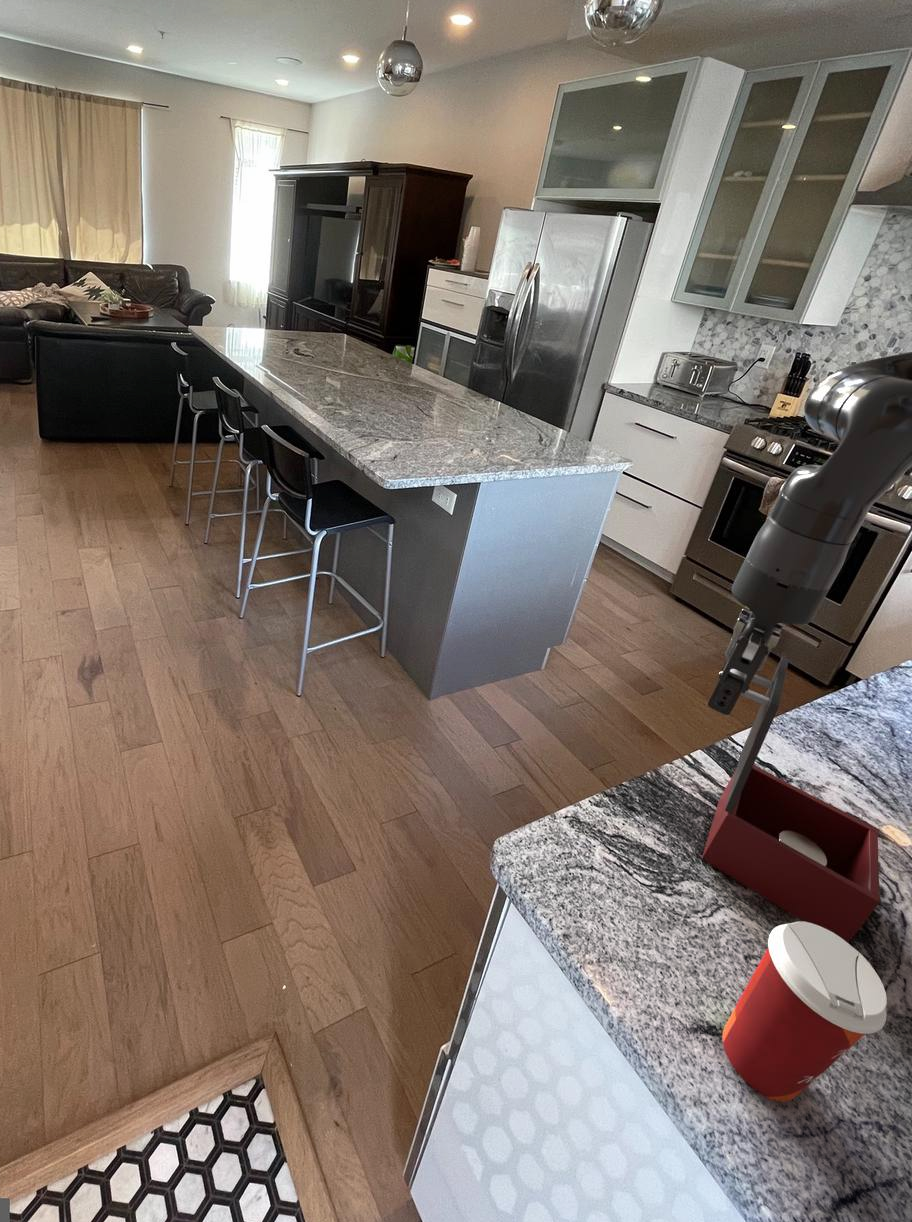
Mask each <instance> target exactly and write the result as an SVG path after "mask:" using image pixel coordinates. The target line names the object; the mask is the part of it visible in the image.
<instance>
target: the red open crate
mask: <svg viewBox="0 0 912 1222" xmlns="http://www.w3.org/2000/svg"><path fill="white" fill-rule="evenodd" d="M735 772H736V770H734V772H733V774H732V775H731V778H730V779H729V781H728V783H727V785H726V786H725V789H724V790H723V792H722V794H721V795H720V797H719V799H718V802H717V806H716V809H715V812H714V817H713V819H712V823H711V826H710V830H709V833H708V836H707V840H706V842H705V846H704V850H703V854H702V856H701V859H702V860H703V861H704V862H706V863H708V864H709V865H711V866H712V867H713V868H716V869H717V870H719V871H721V872H722V873H724V874H726V875H727V876H729V877H730V878H732V879H734V880H735V881H737V882H739V883H740V884H742V885H743V886H745V887H747V888H748V889H750V890H752V891H753V892H755V893H757V894H758V895H760V896H761V897H763V898H764V899H766V900H768V901H769V902H771V903H772V904H774V905H776V906H778V907H779V908H781V909H782V910H784V911H786V912H787V913H789V914H791V915H792V916H793V917H796V918H797V919H799V921H800V920H801V922H808V923H812V924H815V925H818V926H820V927H823V928H825V929H827V930H829V931H831V932H833V933H834V934H836V935H837V936H839V937H840V938H842V939H843V940H844V941H846V942H847V943H848V944H849V942H851V940H852V939H853V937H854V936H855V935H856V934H857V932H858V931H859V930H860V929H861V927H862V926H863V924H865V922H866V921H867V920H868V918H869V917H870V915H872V913H873V912H874V910H875V909H876V908H877V907H878V905H879V904H880V902H881V899H880V897H881V896H880V867H879V866H880V865H879V864H880V863H879V861H880V860H879V830H878V828H876V827H873V826H872V825H870V824H868V823H866V822H864V821H862V820H860V819H859V818H857V817H854V816H852V815H851V814H849V813H847V812H845V811H843V810H841V809H839V808H837V807H835V806H834V805H831V804H830V803H827V802H826V801H824V800H821V799H820V798H818V797H816V796H814V795H813V794H810V793H808V792H806V791H804V790H802V789H801V788H799V787H796V786H795V785H793V784H791V783H789V782H787V781H785V780H783V779H781V778H779V777H777V776H775V775H773V774H772V773H770V772H768V771H766V770H765V769H762V768H760V767H758V766H756V765H755V764H754V765H753V767H752V769H751V772H750V774H749V776H748V778H747V781H746V783H745V785H744V788H743V790H742V792H741V794H740V797H739V799H738V801H737V804H736V806H735V808H734V810H733V813H732V814H730V813H728V812H726V811H725V808H726V804H727V800H728V797H729V793H730V790H731V786H732V782H733V779H734V775H735ZM782 831H793V832H797V833H799V834H801V835H803V836H805V837H807V838H808V839H810V840H811V841H813V842H814V843H815V844H816V845H817V846H818V847H819V848H820V849H821V850H822V851H823V853H824V854H825V856H826V858H827V865H826V867H825V866H824V865H822V864H820V863H818V862H817V861H815V860H813V859H811V858H809V857H808V856H806V855H804V854H802V853H801V852H799V851H797V850H795V849H794V848H792V847H790V846H788V845H786V844H785V843H783V842H781V841H779V840H778V836H779V834H780V833H781V832H782Z"/></svg>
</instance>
